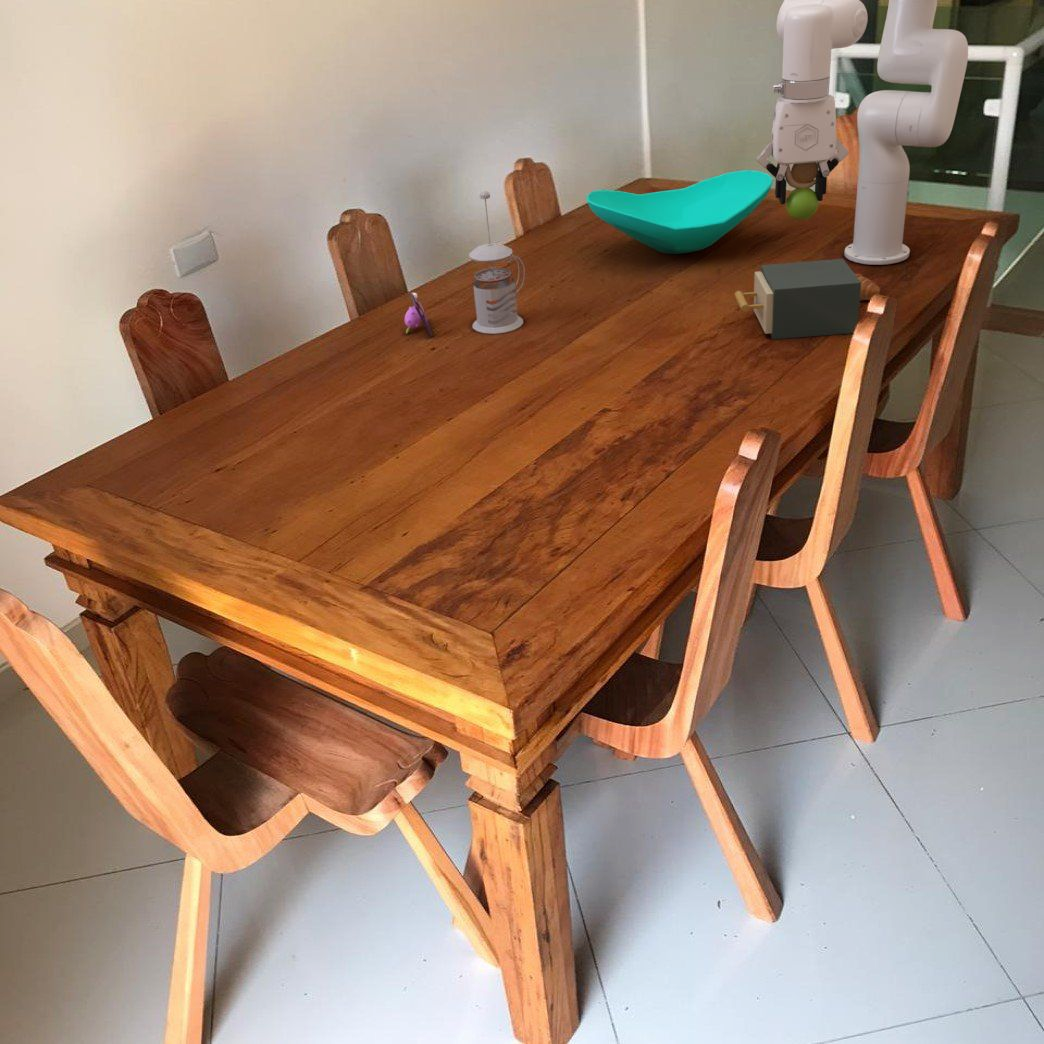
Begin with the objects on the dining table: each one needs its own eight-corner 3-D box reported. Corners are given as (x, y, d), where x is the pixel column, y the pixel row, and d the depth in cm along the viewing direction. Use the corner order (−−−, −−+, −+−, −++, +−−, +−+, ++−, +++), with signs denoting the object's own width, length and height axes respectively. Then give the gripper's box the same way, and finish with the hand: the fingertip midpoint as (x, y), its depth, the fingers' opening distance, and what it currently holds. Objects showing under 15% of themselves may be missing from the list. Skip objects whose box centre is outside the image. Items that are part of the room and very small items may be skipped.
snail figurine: (776, 217, 192) (777, 146, 186) (812, 212, 192) (815, 142, 186) (784, 226, 188) (785, 154, 181) (821, 221, 187) (824, 149, 181)
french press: (462, 324, 210) (446, 193, 197) (510, 307, 215) (498, 178, 202) (491, 337, 203) (477, 202, 190) (541, 319, 208) (530, 187, 195)
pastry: (886, 294, 205) (888, 274, 203) (867, 306, 201) (869, 286, 199) (842, 285, 211) (843, 265, 209) (822, 296, 207) (823, 276, 205)
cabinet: (772, 339, 191) (774, 289, 187) (759, 313, 202) (760, 265, 197) (857, 332, 191) (861, 282, 186) (839, 306, 202) (842, 258, 197)
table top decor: (745, 219, 250) (747, 159, 243) (793, 255, 227) (796, 191, 220) (575, 243, 246) (572, 183, 239) (606, 282, 222) (603, 217, 215)
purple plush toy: (420, 304, 202) (414, 288, 209) (395, 317, 202) (390, 301, 210) (436, 335, 205) (430, 318, 213) (412, 347, 206) (406, 330, 213)
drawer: (742, 335, 192) (743, 295, 188) (732, 311, 201) (732, 273, 198) (843, 327, 191) (846, 287, 187) (827, 304, 201) (830, 265, 197)
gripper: (755, 98, 176) (752, 210, 185) (864, 88, 175) (856, 202, 184) (748, 89, 182) (746, 198, 192) (853, 79, 181) (846, 190, 191)
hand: (800, 199), depth 188 cm, fingers closed on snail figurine, 5 cm apart
